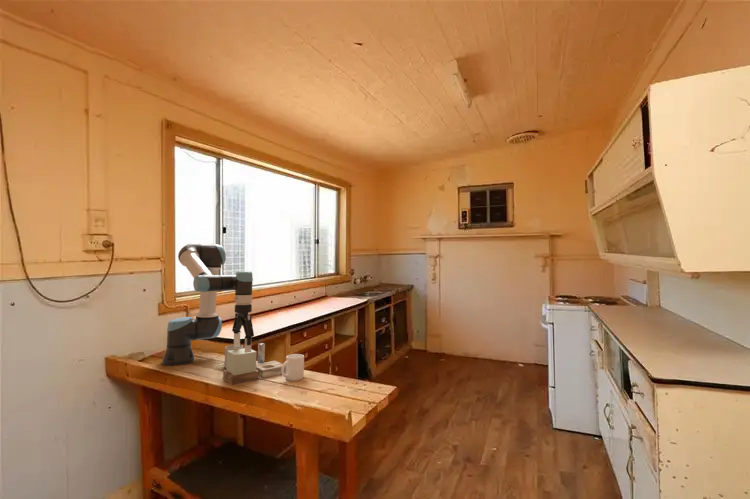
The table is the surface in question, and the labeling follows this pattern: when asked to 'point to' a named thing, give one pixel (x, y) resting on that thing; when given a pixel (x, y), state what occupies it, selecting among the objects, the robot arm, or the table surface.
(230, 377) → the board
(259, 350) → the pin
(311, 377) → the table surface
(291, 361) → the mug
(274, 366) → the square block with hole
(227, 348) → the mug
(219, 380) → the table surface
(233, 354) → the block
